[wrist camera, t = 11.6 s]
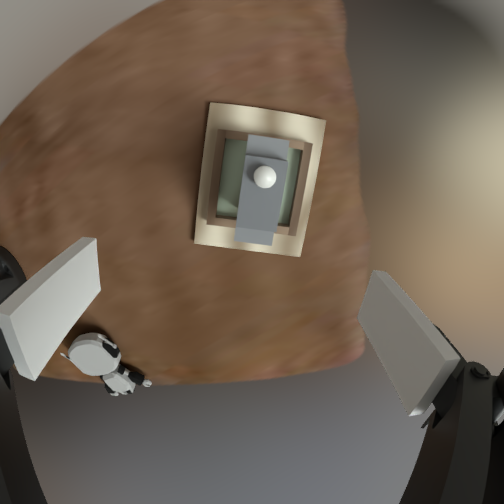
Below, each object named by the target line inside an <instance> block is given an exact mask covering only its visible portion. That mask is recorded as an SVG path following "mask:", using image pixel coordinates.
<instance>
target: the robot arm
mask: <svg viewBox="0 0 504 504" xmlns="http://www.w3.org/2000/svg"><path fill="white" fill-rule="evenodd" d="M100 290H101V288H100V279H99V269H98V258H97V243H96V238H88V237H82V238H81V239H79V240H78V241H77V242H75V243H74V244H73V245H71V246H70V247H69V248H67V249H66V250H65V251H63V252H62V253H61V254H60V255H58V256H57V257H56V258H54V259H53V260H52V261H51V262H49V263H48V264H47V265H46V266H44V267H43V268H42V269H41V270H40V271H38V272H37V273H36V274H35V275H34V276H32V277H31V278H30V279H29V280H26V278H25V275H24V273H23V271H22V269H21V267H20V266H19V264H18V262H17V261H16V260H15V258H14V257H13V256H12V255H11V254H10V253H9V252H8V251H7V250H6V249H4V248H3V247H1V246H0V504H47V501H46V499H45V496H44V494H43V491H42V489H41V487H40V484H39V481H38V478H37V476H36V473H35V470H34V467H33V464H32V461H31V458H30V454H29V451H28V448H27V444H26V440H25V436H24V433H23V428H22V424H21V420H20V415H19V411H18V405H17V400H16V394H15V388H14V381H13V375H12V372H11V370H10V368H11V366H12V365H13V364H14V363H15V365H16V368H17V370H18V372H19V374H20V375H22V376H24V377H27V378H29V379H31V380H34V381H35V380H36V378H37V377H38V375H39V374H40V372H41V371H42V369H43V368H44V366H45V365H46V363H47V362H48V360H49V359H50V357H51V356H52V355H53V353H54V352H55V350H56V349H57V347H58V346H59V345H60V343H61V342H62V340H63V339H64V338H65V336H66V335H67V333H68V332H69V331H70V329H71V328H72V327H73V325H74V324H75V323H76V321H77V320H78V319H79V317H80V316H81V315H82V313H83V312H84V311H85V309H86V308H87V307H88V306H89V304H90V303H91V302H92V300H93V299H94V298H95V297H96V295H97V294H98V293H99V292H100ZM357 319H358V321H359V323H360V325H361V326H362V328H363V330H364V332H365V333H366V335H367V337H368V339H369V341H370V342H371V344H372V346H373V348H374V350H375V352H376V353H377V355H378V357H379V359H380V361H381V363H382V365H383V367H384V369H385V370H386V372H387V374H388V376H389V378H390V380H391V382H392V384H393V386H394V388H395V390H396V392H397V394H398V396H399V397H400V400H401V402H402V404H403V406H404V408H405V410H406V412H407V414H408V416H413V415H418V414H423V413H424V412H425V411H426V410H427V408H428V407H429V406H430V404H431V403H433V404H434V406H435V410H434V411H433V412H432V414H431V415H430V416H429V417H428V419H427V420H426V421H425V423H424V424H423V425H422V427H421V428H424V427H425V426H426V425H427V424H428V427H427V431H426V434H425V437H424V441H423V444H422V447H421V450H420V453H419V456H418V459H417V462H416V464H415V467H414V470H413V472H412V475H411V477H410V480H409V482H408V485H407V487H406V489H405V492H404V494H403V496H402V498H401V501H400V503H399V504H504V420H503V421H502V423H501V424H500V425H498V423H497V420H498V419H499V418H500V416H501V415H502V414H503V413H504V368H503V370H502V372H501V373H500V375H499V376H491V374H490V372H489V371H488V370H487V369H486V368H485V367H484V366H483V365H481V364H479V363H477V362H468V363H467V362H466V360H465V359H464V358H463V357H462V355H461V354H460V353H459V352H458V350H457V349H456V348H455V347H454V346H453V344H452V343H450V341H449V339H448V338H446V336H445V335H444V333H443V332H442V331H441V330H440V329H439V328H438V327H437V326H435V325H434V324H433V323H432V322H431V321H430V320H429V319H428V318H427V317H426V315H425V314H424V313H423V312H422V311H421V310H420V309H419V308H418V306H417V305H416V304H415V303H414V302H413V301H412V300H411V299H410V297H409V296H408V295H407V294H406V293H405V292H404V291H403V290H402V289H401V287H400V286H399V285H398V284H397V283H396V282H395V281H394V280H393V279H392V278H391V277H390V276H389V274H388V273H386V272H385V271H376V270H373V271H372V274H371V277H370V281H369V284H368V287H367V290H366V293H365V296H364V299H363V302H362V305H361V308H360V310H359V313H358V316H357Z"/></svg>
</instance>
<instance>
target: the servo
mask: <svg viewBox="0 0 504 504" xmlns="http://www.w3.org/2000/svg"><path fill="white" fill-rule="evenodd" d="M289 142H290V141H288V140H282V139H276V138H270V137H264V136H257V135H250V134H249V135H248V142H247V149H246V155H245V162H244V169H243V176H242V183H241V190H240V197H239V205H238V212H237V220H236V228H235V235H234V241H238V242H246V243H253V244H261V245H269V246H272V242H273V236H274V232H277V226H278V220H279V215H280V209H281V203H282V197H283V192H284V186H285V180H286V174H287V168H288V161H287V154H288V148H289Z"/></svg>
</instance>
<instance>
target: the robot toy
mask: <svg viewBox="0 0 504 504" xmlns="http://www.w3.org/2000/svg"><path fill="white" fill-rule="evenodd" d="M60 354H61V355H62V356H64V357H66V358H67V359H69V360H70V361H72V362H73V363H74V364H75V365H76V366H77V367H78V368H79V369H80V370H81V371H82V372H83V373H85V374H88V375H92V376H98V375H100V378H101V379H102V380H104V381H105V388H106V390H107V391H108V393H110V394H111V395H113V396H117V395H118V392H120V393H122V394H127V393H129V394H131V393H133V392H134V390H135V388H134V387H135V384H138V385H141V384H143V385H144V386H146V387H149V386H150V385H151V384H152V383H151V381H150V380H149V379H144V377H145V376H144V375H142V374H140V373H138V372H130V371H129V370H128V369H126V368H125V367H124V366H122V365H120V364H119V361H120V358H121V354H120V350H119V348H118V347H117V345H115V344H114V343H113V342H112V341H111V340H110V339H109V338H107V337H106V336H105V335H102V334H99V333H86V334H83V335H79V336H78V337H77V338H76V339H75V340H74V341H73V343H72V344H71V346H70V348H69V350H68V355H69V357H67V356H66V355H64V354H63V353H60Z"/></svg>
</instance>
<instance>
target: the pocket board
mask: <svg viewBox="0 0 504 504" xmlns="http://www.w3.org/2000/svg"><path fill="white" fill-rule="evenodd" d="M325 124H326V120H321V119H317V118H312V117H307V116H303V115H297V114H292V113H287V112H281V111H275V110H269V109H262V108H256V107H248V106H240V105H232V104H222V103H212V102H210V108H209V115H208V122H207V129H206V136H205V144H204V152H203V160H202V168H201V177H200V186H199V196H198V206H197V217H196V228H195V240H194V243H195V244H203V245H211V246H218V247H226V248H234V249H242V250H250V251H257V252H265V253H273V254H281V255H289V256H296V257H300V255H301V250H302V246H303V241H304V237H305V232H306V227H307V222H308V217H309V212H310V207H311V202H312V197H313V192H314V187H315V181H316V176H317V171H318V165H319V159H320V154H321V148H322V142H323V136H324V130H325ZM249 134H250V135H257V136H264V137H270V138H276V139H282V140H288V141H290V142H289V148H288V154H287V161H288V168H287V174H286V180H285V186H284V192H283V197H282V203H281V209H280V215H279V220H278V226H277V232H274V236H273V242H272V246H269V245H261V244H253V243H246V242H238V241H234V235H235V228H236V220H237V212H238V205H239V197H240V190H241V183H242V176H243V169H244V162H245V155H246V149H247V142H248V135H249Z"/></svg>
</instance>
